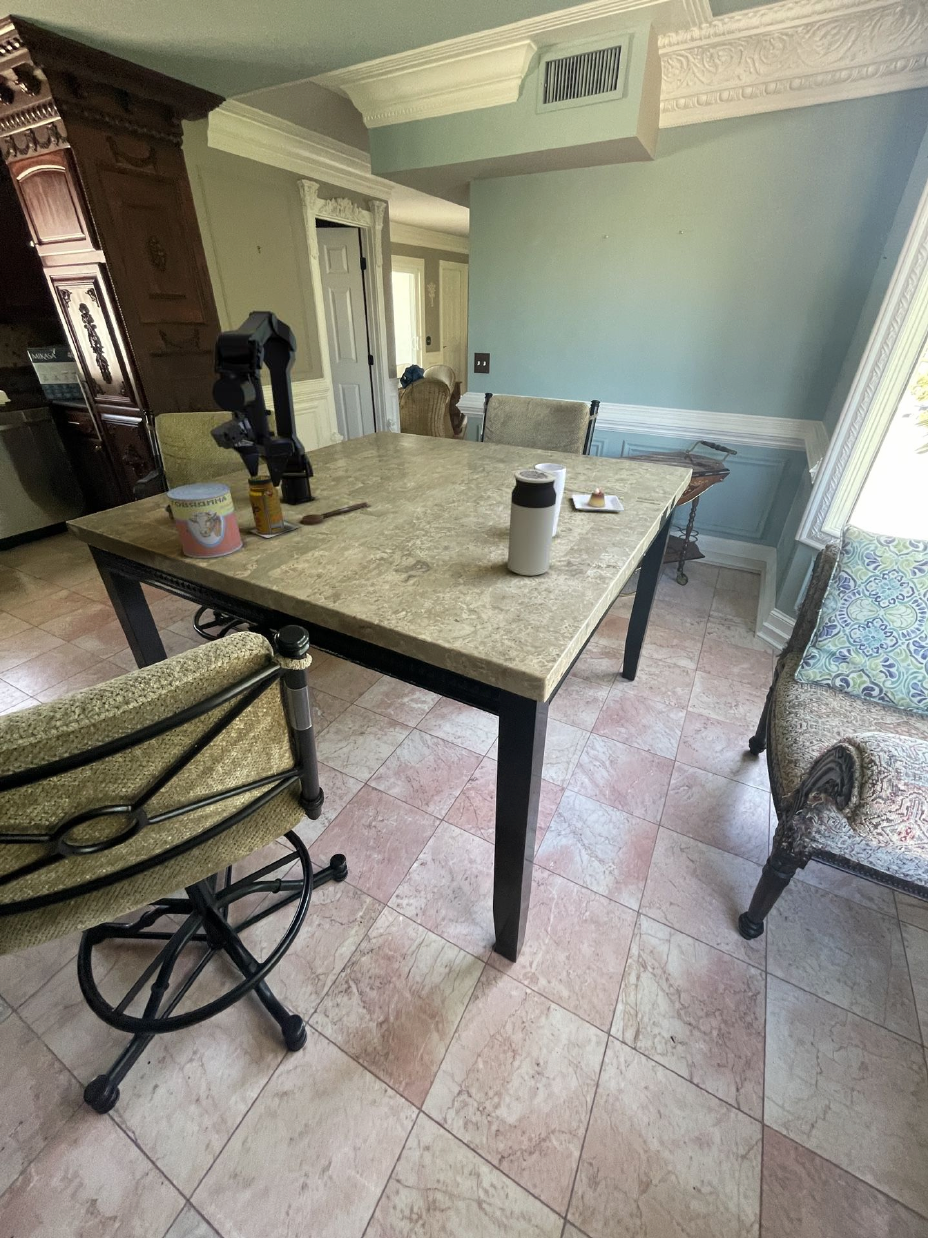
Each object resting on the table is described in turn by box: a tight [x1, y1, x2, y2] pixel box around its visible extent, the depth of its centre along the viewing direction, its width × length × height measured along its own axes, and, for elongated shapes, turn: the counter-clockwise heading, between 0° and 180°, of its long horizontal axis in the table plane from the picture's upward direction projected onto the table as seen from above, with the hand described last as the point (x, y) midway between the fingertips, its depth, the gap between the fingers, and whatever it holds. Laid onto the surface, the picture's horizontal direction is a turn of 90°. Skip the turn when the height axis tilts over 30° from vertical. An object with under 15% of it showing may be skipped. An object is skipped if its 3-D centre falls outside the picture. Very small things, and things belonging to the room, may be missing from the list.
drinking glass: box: [533, 462, 567, 538], centre depth 109 cm, size 7×7×15 cm
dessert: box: [571, 487, 625, 513], centre depth 130 cm, size 12×12×5 cm
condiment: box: [247, 474, 300, 539], centre depth 111 cm, size 7×8×12 cm
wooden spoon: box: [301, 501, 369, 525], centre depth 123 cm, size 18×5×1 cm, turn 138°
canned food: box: [166, 482, 243, 559], centre depth 101 cm, size 11×11×12 cm
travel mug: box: [507, 469, 557, 577], centre depth 93 cm, size 8×8×18 cm
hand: (265, 482), depth 108 cm, fingers open, 9 cm apart
